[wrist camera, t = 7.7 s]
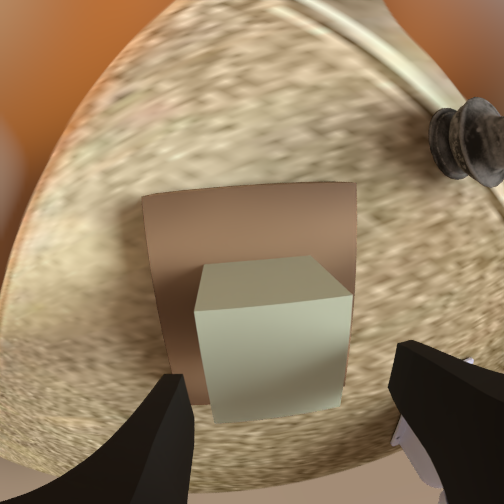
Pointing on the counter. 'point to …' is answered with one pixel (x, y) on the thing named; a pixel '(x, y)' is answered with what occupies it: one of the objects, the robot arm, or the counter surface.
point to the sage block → (272, 337)
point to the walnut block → (240, 248)
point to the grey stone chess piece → (469, 142)
